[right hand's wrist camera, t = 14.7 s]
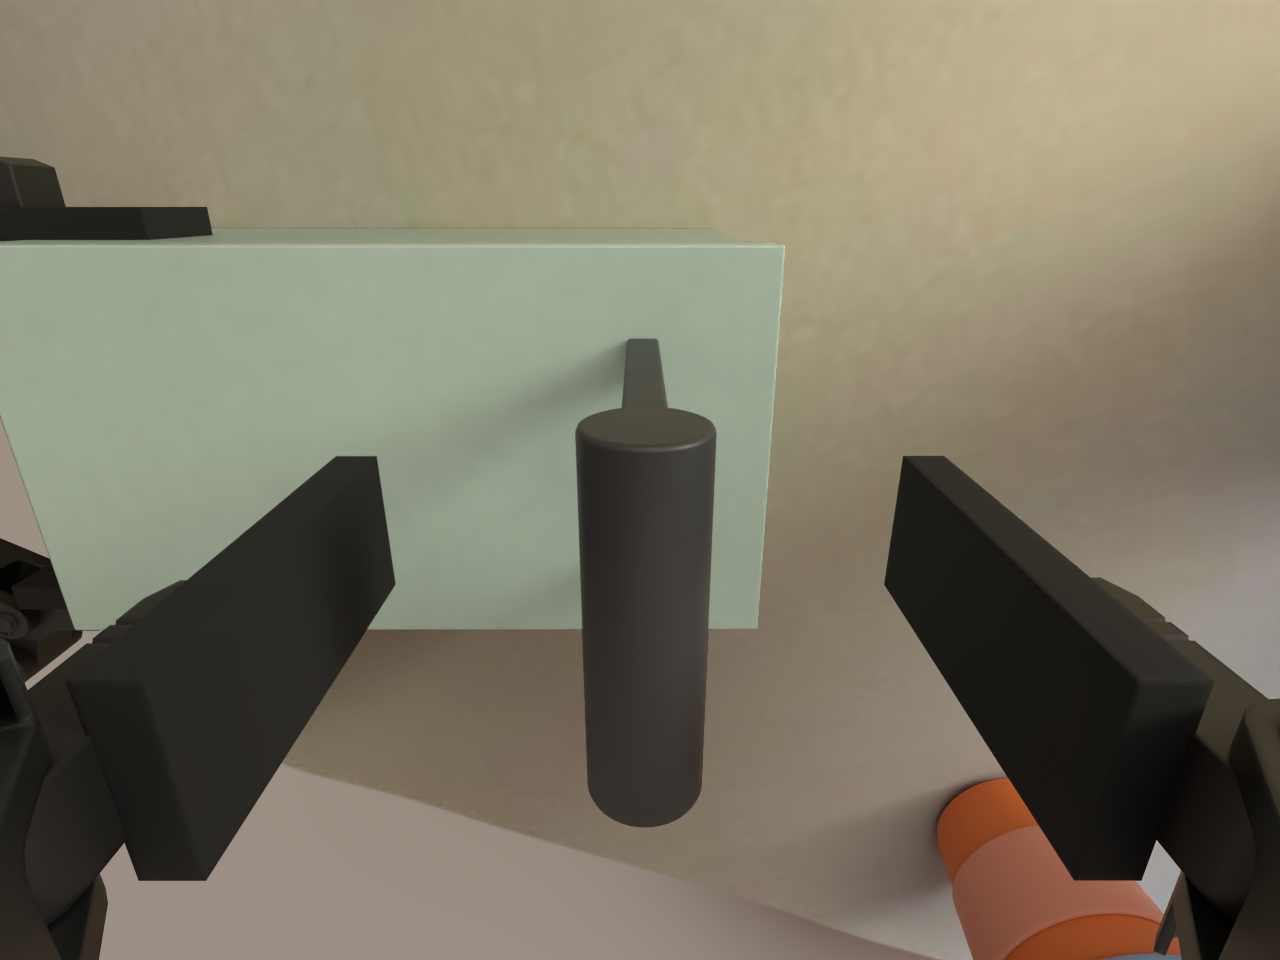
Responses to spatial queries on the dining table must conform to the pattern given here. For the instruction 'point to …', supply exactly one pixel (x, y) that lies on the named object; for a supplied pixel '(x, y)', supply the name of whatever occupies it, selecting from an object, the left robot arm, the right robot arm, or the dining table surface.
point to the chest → (438, 236)
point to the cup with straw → (1035, 889)
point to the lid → (425, 441)
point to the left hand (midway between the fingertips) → (223, 416)
